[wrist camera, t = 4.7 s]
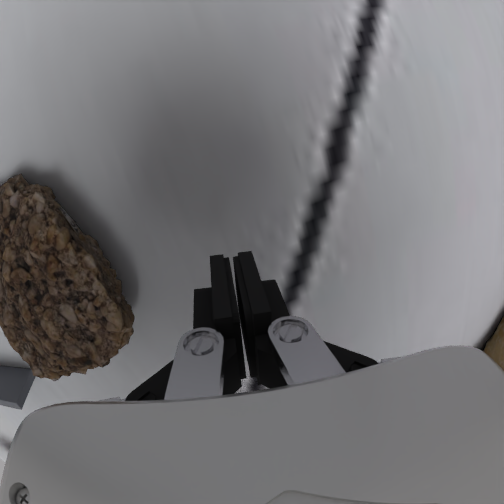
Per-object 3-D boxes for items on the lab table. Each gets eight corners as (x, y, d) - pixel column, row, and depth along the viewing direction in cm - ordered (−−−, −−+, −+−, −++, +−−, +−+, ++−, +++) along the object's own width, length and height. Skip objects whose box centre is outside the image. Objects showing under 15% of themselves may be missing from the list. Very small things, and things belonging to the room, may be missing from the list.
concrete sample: (155, 320, 18) (145, 380, 13) (42, 341, 17) (18, 389, 13) (87, 140, 13) (38, 153, 8) (-27, 202, 12) (-74, 232, 8)
